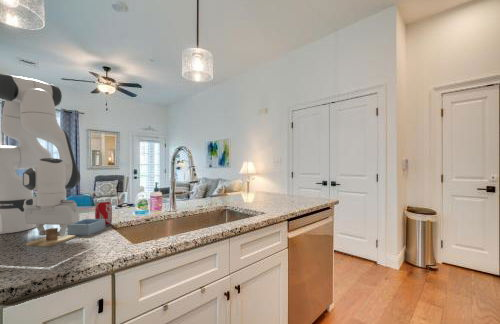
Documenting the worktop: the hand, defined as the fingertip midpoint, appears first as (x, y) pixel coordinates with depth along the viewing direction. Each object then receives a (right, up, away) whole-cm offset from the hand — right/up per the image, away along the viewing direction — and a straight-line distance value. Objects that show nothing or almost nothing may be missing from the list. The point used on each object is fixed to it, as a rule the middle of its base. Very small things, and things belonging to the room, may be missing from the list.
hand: (51, 235), depth 90 cm
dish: (+5, -3, +12) cm, 13 cm away
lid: (0, -2, 0) cm, 2 cm away
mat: (0, -3, 0) cm, 3 cm away
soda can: (+4, -3, +25) cm, 25 cm away
